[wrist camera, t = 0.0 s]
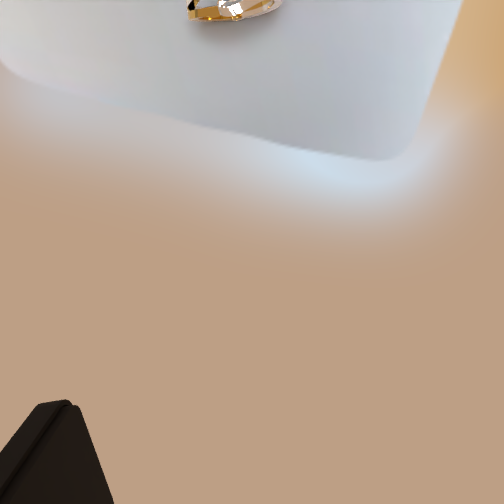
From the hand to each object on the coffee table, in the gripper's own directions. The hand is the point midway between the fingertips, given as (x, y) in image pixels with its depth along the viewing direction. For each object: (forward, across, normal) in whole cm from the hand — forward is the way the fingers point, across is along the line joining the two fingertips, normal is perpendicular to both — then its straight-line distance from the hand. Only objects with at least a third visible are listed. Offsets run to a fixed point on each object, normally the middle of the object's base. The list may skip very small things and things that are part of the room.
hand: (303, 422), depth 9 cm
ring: (+31, 0, -14) cm, 35 cm away
